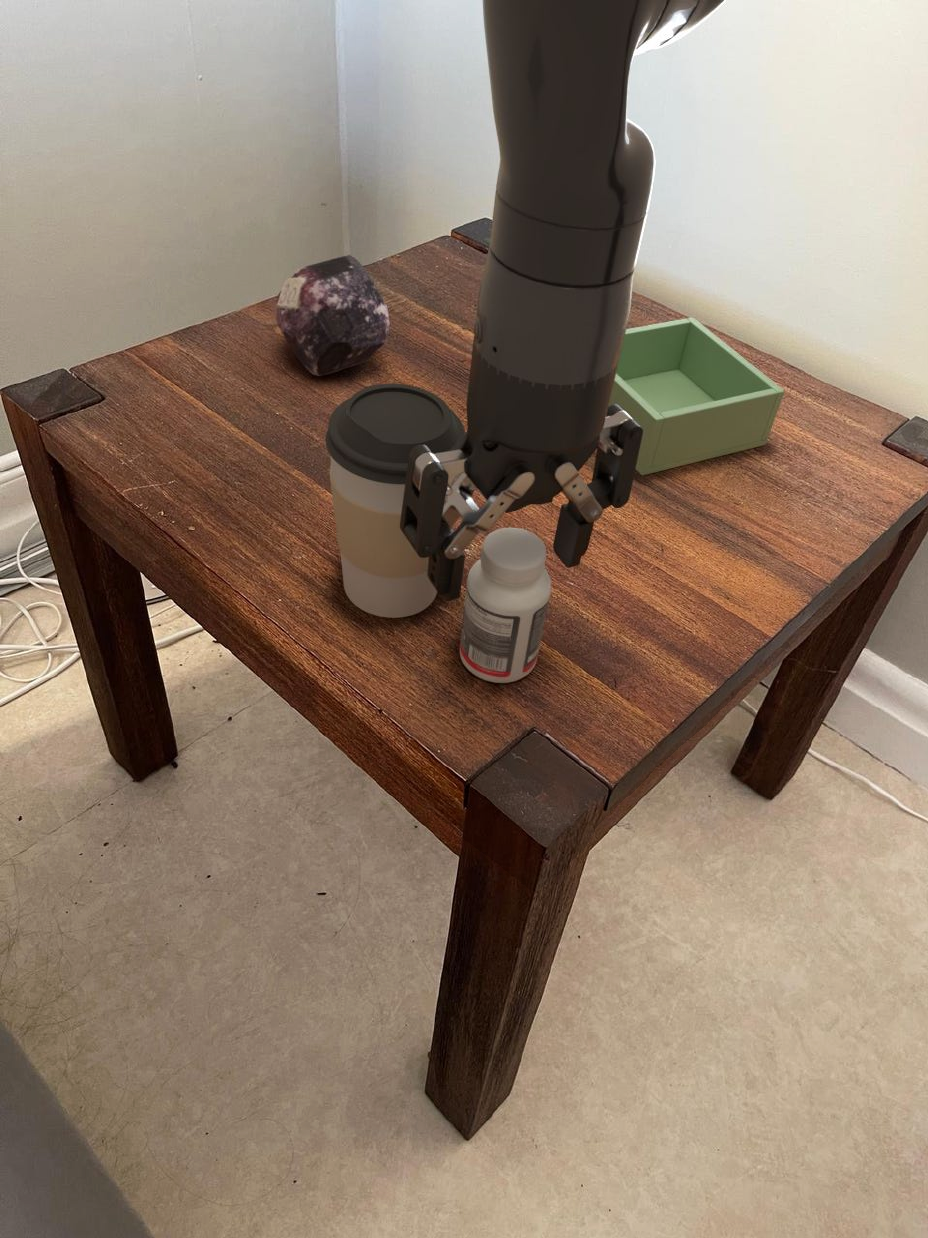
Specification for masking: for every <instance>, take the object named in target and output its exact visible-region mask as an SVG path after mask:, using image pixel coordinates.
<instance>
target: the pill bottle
mask: <svg viewBox="0 0 928 1238" xmlns="http://www.w3.org/2000/svg"><path fill="white" fill-rule="evenodd" d="M479 557H480V558H479V559H478V560H477V561H476V562H475V563H474V564H473V565H472V566H471V568H470V569H469V572H468V575H467V578H466V586H465V595H464V596H465V597H464V603H463V604H464V605H463V613H462V621H461V630H460V643H459V655H460V659H461V662H462V664H463V665H464V666H465V668H466V669H467V670H468V671H469V672H470V673H471V674H472V675H474V676H475V677H477V678H479V679H482V680H483V681H487V682H491V683H495V684H507V683H513V682H516V681H519V680H522V679H524V678H525V677H527V676H528V675H530V673H531V672H532V671H533V670H534V668H535V666H536V664H537V662H538V657H539V652H540V648H541V644H542V638H543V632H544V627H545V622H546V616H547V611H548V607H549V604H550V603H549V602H550V598H551V593H552V592H551V591H552V580H551V577H550V574H549V572H548V570H547V569H546V560H547V547H546V545H545V542H544V541H543V540H542V538H540V537H539V536H538V535H537V534H535V533H533V532H531V531H529V530H527V529H524V528H520V527H503V528H498V529H495V530H493V531H492V532H491V531H490V533H489V534H487V535H486V536H485V538H484V539H483V542H482V545H481V551H480V556H479Z"/></svg>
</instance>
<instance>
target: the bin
mask: <svg viewBox="0 0 928 1238" xmlns="http://www.w3.org/2000/svg"><path fill="white" fill-rule="evenodd" d="M785 392H786V391H785V390H784V389H783V388H782V387H780V385H778V384H777V383H776V382H775V381H773V380H772V379H771V378H769V377H768V376H767V375H766V374H764V373H763V372H762V371H761V370H759V369H758V368H757V367H755V366H754V365H753V364H752V363H751V362H749V361H748V360H747V359H746V358H744V357H743V356H742V355H741V354H739V353H738V352H737V351H735V350H734V349H733V348H732V347H731V346H729V345H728V344H726V342H724V341H723V340H722V339H720V338H719V337H718V336H717V335H715V334H714V333H713V332H711V330H709V329H708V328H707V327H705V325H703V324H702V323H700V322H699V321H698V320H697V319H696V318H694V317H693V316H692V317H687V318H681V319H675V320H671V321H664V322H659V323H653V324H649V325H642V326H636V327H631V328H626V332H625V337H624V341H623V345H622V350H621V354H620V358H619V363H618V367H617V371H616V376H615V380H614V384H613V389H612V393H611V397H610V402H609V406H611V405H614V404H617V405H619V406H620V407H621V408H622V409H623V410H624V411H625V412H626V413H627V414H629V415H630V416H631V417H632V418H633V419H634V420H635V422H636V423H637V424H638V425H639V426H640V427H641V428H642V429H643V435H642V440H641V445H640V449H639V454H638V459H637V464H636V469H635V471H637V473H638V474H639V475H640V476H646V475H650V474H654V473H657V472H658V473H659V472H661V471H665V470H666V471H667V470H671V469H675V468H677V467H678V468H679V467H682V466H687V465H691V464H694V463H698V462H702V461H706V460H710V459H715V458H718V457H723V456H726V455H730V454H734V453H738V452H742V451H747V450H751V449H754V448H758V447H762V446H763V447H764V446H766V445H767V442H768V439H769V436H770V433H771V431H772V428H773V425H774V422H775V420H776V417H777V414H778V412H779V409H780V406H781V404H782V401H783V398H784V395H785ZM609 406H608V407H609Z"/></svg>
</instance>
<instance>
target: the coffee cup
mask: <svg viewBox="0 0 928 1238" xmlns="http://www.w3.org/2000/svg"><path fill="white" fill-rule="evenodd" d="M466 432H467V431H466V427H465V425H464V424H463V422H462V420H461V419H460V417H459V416H458V415H457V414H456V413H455V412H454V411H453V410H452V409H451V408H450V407H449V406H448V404H447V403H446V402H445V400H443V399H442V398H440V396H438V395H437V394H435V393H433V392H431V391H429V390H427V389H424V388H421V387H418V386H415V385H410V384H405V383H404V384H403V383H380V384H375V385H371V386H367V387H365V388H362V389H360V390H359V391H357V392H355V393H354V394H353V395H352V396H350V397H349V398H347V399H346V400H344V401H342V402H341V403H340V404H338V405H337V407H336V408H335V409H334V410H333V411H332V412H331V414H330V416H329V419H328V427H327V430H326V433H325V439H324V440H325V446H326V450H327V452H328V454H329V456H330V457H329V458H330V467H329V481H330V482H329V483H330V489H331V498H332V506H333V507H332V508H333V516H334V524H335V532H336V540H337V546H338V549H339V552H340V561H341V563H340V564H341V571H342V573H341V574H342V579H343V589H344V592H345V594H346V596H347V598H348V599H349V600H350V602H351V603H352V604H353V605H354V606H356V607H357V608H359V609H360V610H361V611H364V612H365V613H368V614H370V615H373V616H377V617H381V618H392V619H397V618H405V617H410V616H413V615H416V614H419V613H421V612H422V611H424V610H425V609H427V608H428V607H429V606H430V605H431V604H432V603H433V602H434V601H435V598H436V596H437V594H438V592H437V591H436V589H435V588H434V586H433V585H432V583H431V582H430V580H429V578H428V576H427V572H428V563H429V562H428V561H429V557H427V558H421V557H419V556H418V554H417V553H416V551H415V550H414V549H413V547H412V546H411V544H410V543H409V541H408V540H407V538H406V537H405V535H404V534H403V532H402V531H401V529H400V520H401V512H402V505H403V497H404V489H405V482H406V474H407V467H408V459H409V454H410V451H411V450H412V449H413V448H414V447H416V446H418V445H426V446H427V447H428V448H429V449H430V451H431V452H432V453H433V454H435V453H441V452H447V451H454V450H458V447H459V445H460V444H461V442H462V441H463V439H464V437H465V435H466ZM458 477H459V476H457V477H456V478H455V480H456V479H457V478H458ZM455 480H454V482H455ZM454 482H453V483H454ZM446 501H447V496H445V502H444V504H445V503H446ZM452 527H453V526H452ZM452 527H451V528H452ZM452 529H453V528H452Z"/></svg>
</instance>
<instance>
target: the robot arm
mask: <svg viewBox="0 0 928 1238" xmlns="http://www.w3.org/2000/svg"><path fill="white" fill-rule="evenodd" d="M726 1H727V0H482V16H483V18H482V19H483V30H484V37H485V38H484V39H485V46H486V55H487V66H488V75H489V83H490V93H491V94H490V95H491V104H492V112H493V118H494V125H495V131H496V136H497V142H498V150H499V166H498V172H497V176H496V177H497V180H496V184H495V192H494V193H495V195H494V202H493V210H492V211H493V212H492V220H491V227H490V237H489V246H488V251H487V257H486V261H485V265H484V268H483V272H482V276H481V281H480V285H479V288H478V289H479V290H478V296H477V304H476V305H477V306H476V314H475V320H474V324H473V342H472V350H471V360H470V369H469V378H468V386H467V396H466V423H467V427H466V428H467V430H466V431H465V432H466V435H465V437H464V439H463V441H462V442H461V444H460V445H459V447H458V450H454V451H447V452H441V453H435V454H433V453H432V452H431V451H430V449H429V448H428V447H427V446H426V445H418V446H416V447H414V448H413V449H412V450H411V451H410V454H409V459H408V467H407V474H406V482H405V489H404V497H403V505H402V512H401V520H400V529H401V531H402V532H403V534H404V535H405V537H406V538H407V540H408V541H409V543H410V544H411V546H412V547H413V549H414V550H415V551H416V553H417V554H418V556H419V557H421V558H427V557H429V561H428V562H429V563H428V572H427V576H428V578H429V580H430V582H431V583H432V585H433V586H434V588H435V589H436V591H437V594H438V595H439V596H443V598H444V599H445V601H446V602H452V601H455V600H459V599H460V597H461V593H462V585H463V576H464V569H465V561H466V560H465V559H466V555H465V554H464V552H465V551H466V549H467V548H468V547H469V546H470V545H471V544H472V542H474V540H475V538H476V537H477V536H478V535H479V534H481V533H482V534H486V533H489V532H490V531H491V530H492V528H493V527H494V526H495V525H496V524H497V522H498V521H499V520H500V519H501V518H502V516H503V515H504V514H509V513H512V512H517V511H520V510H522V509H524V508H526V507H528V506H530V505H531V506H533V505H539V506H540V505H545V504H549V503H552V502H553V501H554V498H555V497H556V496H558V495H560V493H562V494H563V495H564V497H565V498H566V499H567V501H568V502H567V503H562V504H561V505H560V510H559V516H558V520H557V524H556V529H555V533H554V538H553V544H552V549H553V552H554V554H555V555H556V556H557V558H558V559H559V560H560V561H561V563H562V564H563V565H564V566H565V568H568V569H570V568H573V567H577V566H579V565H580V564H581V560H582V557H584V556H585V554H587V553H586V552H587V551H588V549H589V545H590V541H591V536H592V534H593V529H594V525H595V522H597V521H598V520H599V519H601V517H602V516H603V513H604V510H606V509H607V508H609V507H611V506H612V507H613V508H614V509H620V508H622V507H624V506H625V505H626V504H627V503H628V502H629V500H630V496H631V491H632V487H633V482H634V478H635V472H636V464H637V459H638V454H639V449H640V445H641V440H642V435H643V429H642V428H641V427H640V426H639V425H638V424H637V423H636V422H635V420H634V419H633V418H632V417H631V416H630V415H629V414H627V413H626V412H625V411H624V410H623V409H622V408H621V407H620V406H619V405H617V404H614V405H611V406H609V402H610V397H611V393H612V389H613V384H614V380H615V376H616V371H617V367H618V363H619V358H620V354H621V350H622V345H623V341H624V337H625V332H626V329H628V323H629V318H630V313H631V305H632V297H633V296H632V295H633V282H634V276H635V275H634V274H635V270H636V269H635V268H636V265H637V261H638V256H639V252H640V247H641V243H642V239H643V235H644V231H645V225H646V221H647V218H648V212H649V209H650V203H651V198H652V191H653V185H654V180H655V172H656V156H655V150H654V146H653V143H652V141H651V139H650V137H649V135H648V134H647V132H645V131H644V130H643V129H642V128H641V127H640V126H639V125H638V124H637V123H635V122H633V121H631V120H630V119H629V118H628V96H629V95H628V94H629V82H630V81H629V80H630V73H631V67H632V63H633V59H634V56H636V55H640V54H642V53H647V52H650V51H654V50H657V49H660V48H663V47H666V46H667V45H670V44H672V43H674V42H675V41H678V40H680V39H681V38H683V37H684V36H686V35H687V34H689V33H690V32H691V31H693V30H694V29H696V28H697V27H698V26H699V25H701V24H702V23H703V22H704V21H705V20H706V19H707V18H709V17H710V16H711V15H712V14H713V13H714V12H715V11H717V10H718V9H719V8H720V7H721V6H722V5H723V4H724V3H725V2H726ZM608 406H609V407H608ZM595 452H596V454H595V458H594V459H595V460H594V466H593V471H592V478H591V481H590V482H589V483H586V482H585V480H584V479H583V477H582V476H581V475H580V473H579V472H580V470H581V469H582V468H583V466H584V465H585V464H586V463H587V462H588V461H589V459H590V458H591V457H592V456H593V454H594V453H595ZM457 476H459V477H458V478H457V479H456V480H455V478H456V477H457ZM454 480H455V482H454ZM453 482H454V483H453ZM476 489H477V490H478V492H479V493H480V494H481V495H482V497H484V499H485V502H484V503H483V504H482V505H481V507H479V506H478V504H477V503H476V502H475V501H474V499H473V496H474V492H475V490H476ZM445 496H447V501H446V503H445V504H444V502H445ZM460 518H461V521H460V523H459V525H458V526H457V527H456V528H455V529H453V528H451V527H454V525H455V524H456V522H457V521H458V520H459V519H460Z"/></svg>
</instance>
